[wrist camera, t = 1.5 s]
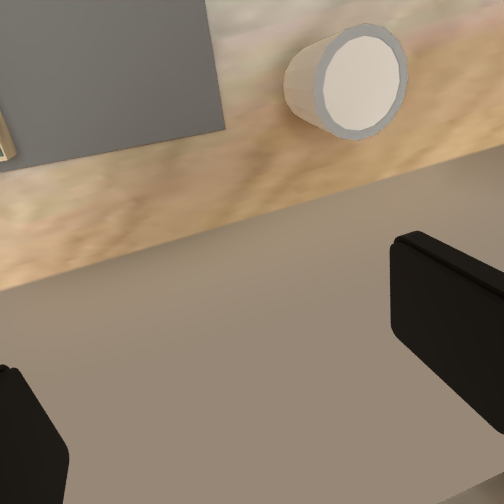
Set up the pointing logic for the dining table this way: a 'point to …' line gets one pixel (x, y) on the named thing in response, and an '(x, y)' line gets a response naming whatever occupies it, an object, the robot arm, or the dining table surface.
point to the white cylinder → (348, 82)
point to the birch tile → (6, 142)
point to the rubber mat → (104, 76)
